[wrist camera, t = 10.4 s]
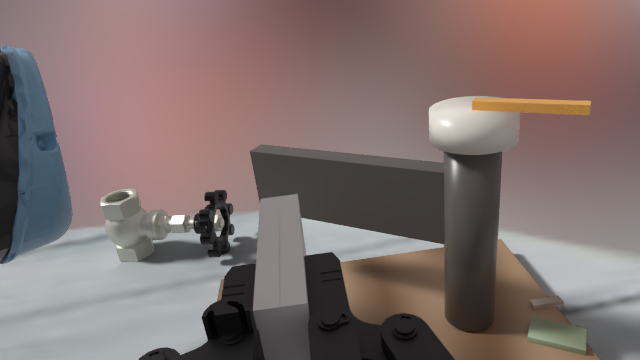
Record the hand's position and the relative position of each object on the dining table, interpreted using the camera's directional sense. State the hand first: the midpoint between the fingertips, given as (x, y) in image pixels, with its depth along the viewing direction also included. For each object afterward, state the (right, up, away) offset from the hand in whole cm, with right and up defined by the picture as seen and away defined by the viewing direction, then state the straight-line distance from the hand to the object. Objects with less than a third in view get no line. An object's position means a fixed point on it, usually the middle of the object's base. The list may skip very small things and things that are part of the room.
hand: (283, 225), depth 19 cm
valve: (-13, -6, +28) cm, 32 cm away
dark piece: (+7, -7, +15) cm, 18 cm away
